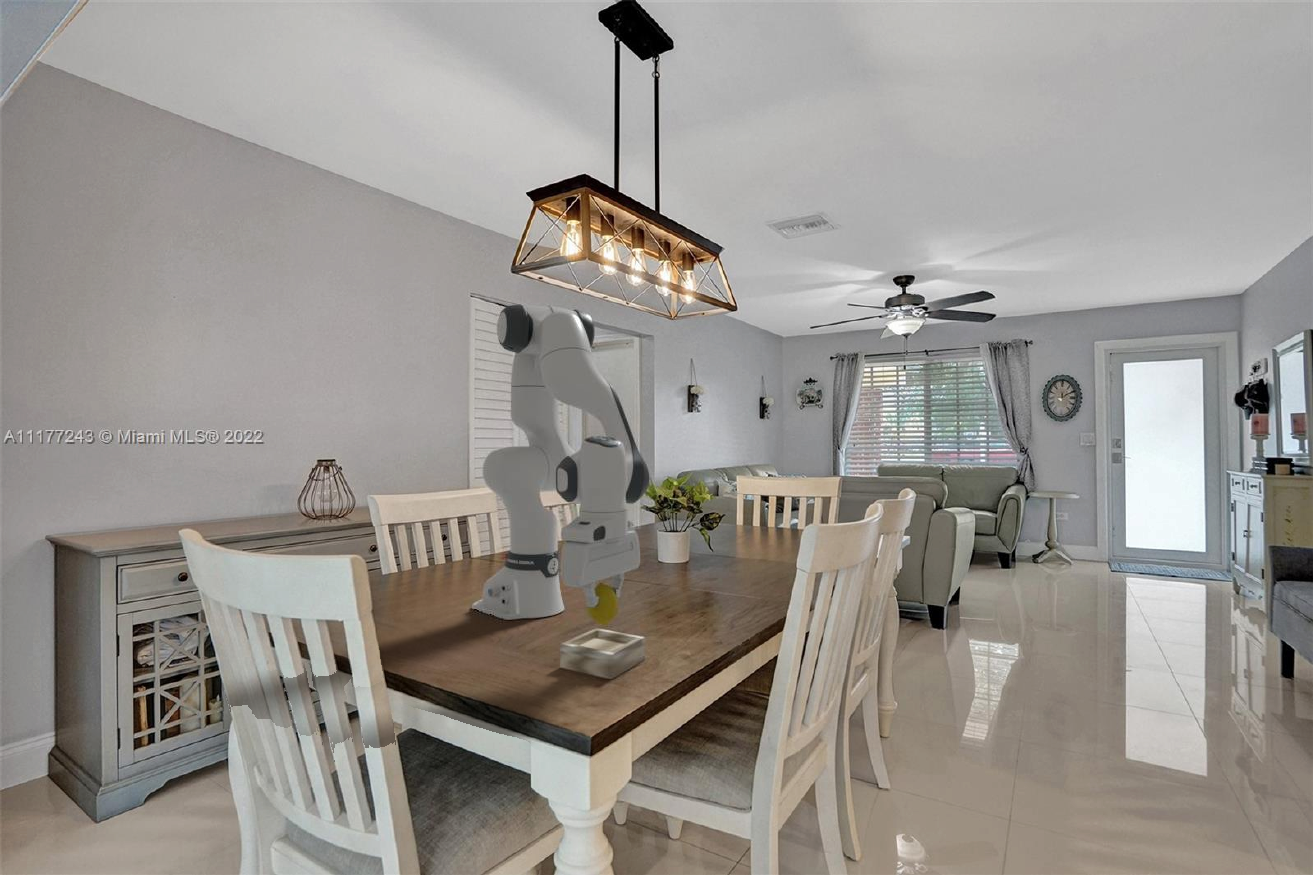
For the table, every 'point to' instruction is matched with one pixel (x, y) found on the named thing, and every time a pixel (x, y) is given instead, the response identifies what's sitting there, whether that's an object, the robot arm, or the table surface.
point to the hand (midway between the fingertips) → (603, 601)
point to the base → (602, 653)
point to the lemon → (604, 605)
